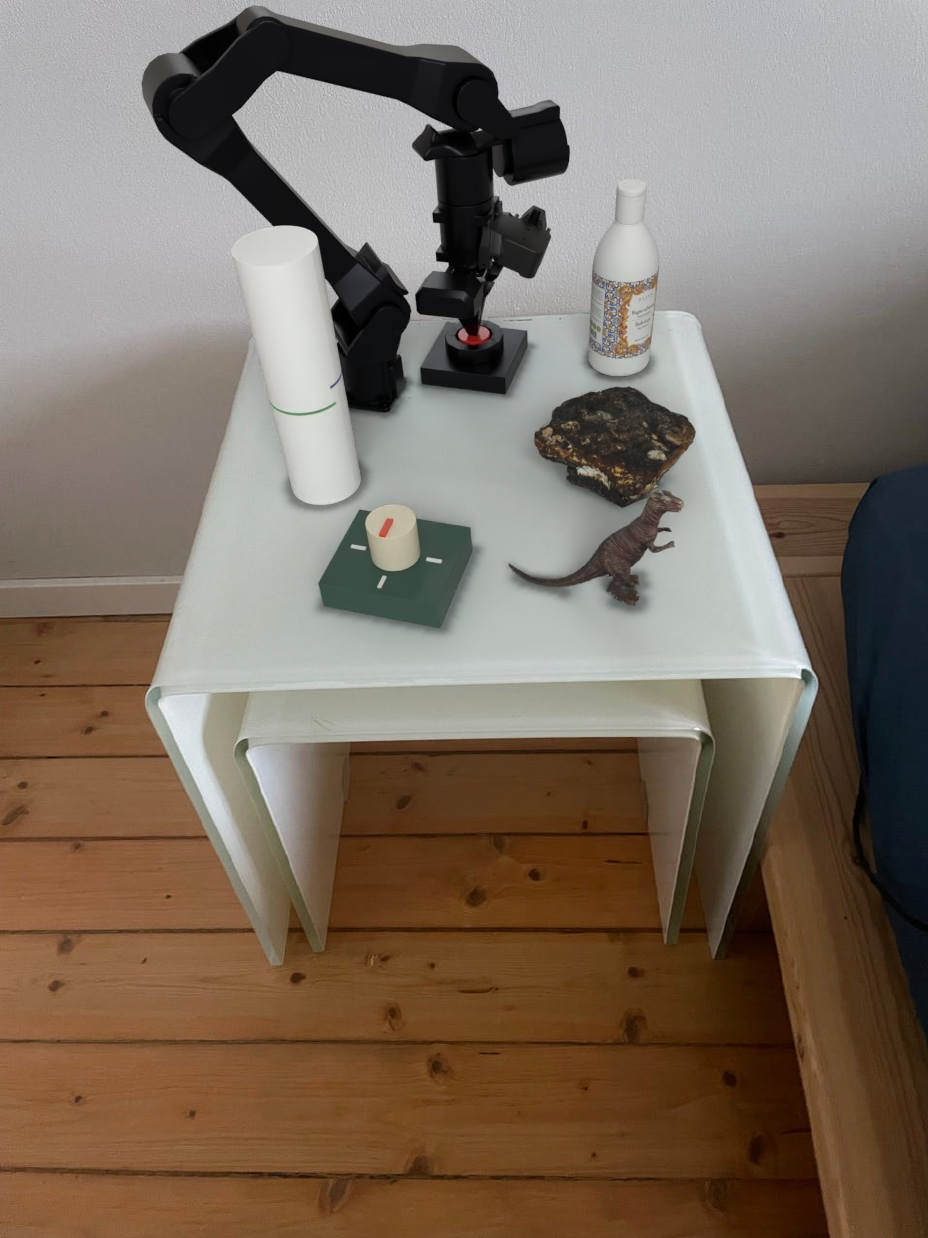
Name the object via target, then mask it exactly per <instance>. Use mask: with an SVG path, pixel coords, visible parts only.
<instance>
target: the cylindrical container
mask: <svg viewBox="0 0 928 1238" xmlns="http://www.w3.org/2000/svg"><path fill="white" fill-rule="evenodd" d="M230 250H231V252H230V253H231V256H232V261H233V264H234V269H235V272H236V276H237V280H238V284H239V289H240V291H241V296H242V299H243V303H244V307H245V312H246V315H247V320H248V323H249V327H250V330H251V335H252V339H253V342H254V347H255V350H256V354H257V358H258V363H259V366H260V369H261V373H262V377H263V382H264V386H265V390H266V393H267V397H268V402H269V405H270V409H271V413H272V417H273V420H274V424H275V428H276V432H277V437H278V440H279V444H280V448H281V452H282V456H283V459H284V463H285V468H286V471H287V475H288V479H289V483H290V486H291V487H290V488H291V490H292V493H293V495H294V496H295V497H296V499H298V500H299V501H301V502H303V503H306V504H308V505H309V504H310V505H313V506H326V505H327V506H328V505H332V504H333V505H334V504H336V503H339V502H342V501H344V500H346V499H348V498H350V497H351V496H352V495H353V494H354V493H356V491H358V488H359V487H360V484H361V482H362V476H361V469H360V464H359V458H358V454H357V453H358V452H357V447H356V442H355V436H354V432H353V426H352V420H351V415H350V408H349V407H348V403H347V398H346V392H345V387H344V381H343V376H342V371H341V365H340V359H339V354H338V348H337V339H336V337H335V332H334V326H333V321H332V315H331V310H330V309H331V305H330V299H329V293H328V288H327V283H326V282H327V281H326V279H325V277H324V271H323V266H322V260H321V255H320V249H319V244H318V239H317V236H316V235H315V234H314V233H313V232H312V231H310V230H308V229H305V228H302V227H298V226H269V227H264V228H260V229H256V230H254V231H251V232H248V233H247V234H245V235H242V236H241V237H240V238H239V239H237V240H236V241H235V242H234V244H233V245H232V246H231V249H230Z"/></svg>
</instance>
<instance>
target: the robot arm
mask: <svg viewBox="0 0 928 1238" xmlns="http://www.w3.org/2000/svg"><path fill="white" fill-rule="evenodd" d="M277 72H279V73H284V74H287V75H292V76H296V77H299V78H300V77H301V78H303V79H309V80H312V81H317V82H321V83H325V84H330V85H334V86H337V87H342V88H346V89H351V90H354V91H358V92H363V93H367V94H372V95H375V96H379V97H384V98H388V99H392V100H396V101H399V102H401V103H403V104H405V105H407V106H409V107H411V108H413V109H414V110H416V111H418V112H420V113H422V114H423V115H425V116H427V117H428V118H430V119H433V120H434V121H437V122H438V123H441V124H443V125H445V126H446V127H449V128H447V129H442V130H437V129H436V128H434V127H433V126H432V124H430V123H427V124H425V125H424V126H425V127H424V129H423V131H422V132H421V133H420V134H419V135H418V136H417V137H416V138H415V139H414V140H413V142H412V143H411V148H412V150H413V151H414V152H415V153H416V154H417V155H418V156H419V157H420V158H421V159H422V160H423V161H424V162H430V161H431V162H432V161H434V172H435V183H436V197H437V205H436V207H435V208H434V209H433V211H432V212H431V215H432V217H431V218H432V223H433V224H438V225H439V234H440V235H439V236H440V245H439V246H438V248H437V249H436V251H435V262H437V263H447V264H448V265H447V267H446V269H445V271H438V270H432V271H431V272H430V273H429V274H428V275H427V276H426V277H425V278H424V279H423V281H422V283H421V285H420V286H419V287H418V289H417V290H416V292H415V294H414V298H415V299H414V300H415V309H416V313H417V314H419V315H420V316H429V317H437V318H438V317H440V318H449V319H457V320H458V321H459V322H460V323H461V324H462V326H463V328H464V329H465V331H466V332H467V334H468V335H471V336H477V334H478V332H479V329H480V324H481V320H483V314H484V309H485V305H486V300H487V297H488V296H489V294H490V293H491V291H492V289H493V287H494V285H495V284H496V280H497V279H498V278H499V277H500V275H501V272H502V271H503V269H504V268H506V269H508V270H510V271H512V272H515V273H517V274H518V275H519V276H520V277H521V278H524V279H527V280H530V279H534V278H535V277H536V275H537V273H538V271H539V268H540V266H541V264H542V262H543V260H544V257H545V254H546V252H547V250H548V247H549V244H550V241H551V239H552V234H551V231H552V229H551V228H550V227H548V222H547V213H546V210H545V209H543V208H541V207H539V206H537V205H535V204H534V205H532V206H530V207H529V208H528V209H527V210H526V211H525V212H524V213H523V214H522V215H520V214H519V213H515V214H514V215H513V214H512V213H511V212H510V211H504V210H503V208H504V207H503V201H502V200H501V199H500V196H499V195H495V187H494V185H495V184H494V174H495V175H496V176H497V177H498V178H503V180H504V181H505V183H506V184H507V185H508V186H510V187H513V186H517V185H522V184H525V183H532V182H534V181H535V182H536V181H540V180H544V179H548V178H552V177H557V176H562V175H565V173H566V172H567V170H568V168H569V164H570V158H571V157H570V156H571V147H570V145H569V144H568V137H567V136H568V135H567V132H566V128H565V126H564V123H563V121H562V119H561V106H560V105H558V104H557V103H556V102H554V101H553V100H552V99H546V100H542V101H538V102H536V103H535V104H532V105H528V106H523V107H518V108H515V109H510V110H509V109H507V108H506V106H505V105H504V104H503V102H502V101H501V100H500V98H499V96H500V95H499V93H500V92H499V91H500V90H499V83H498V81H497V79H496V75H495V73H494V72H493V71H492V69H491V68H489V66H487V65H486V64H485V63H484V62H482V61H481V60H479V59H478V58H477V57H476V56H474V55H473V54H471V53H470V52H468V51H467V50H466V49H465V48H462V47H461V46H458V45H453V44H440V43H438V44H437V43H417V44H411V45H400V44H399V45H397V44H391V43H387V42H383V41H379V40H376V39H372V38H369V37H364V36H362V35H357V34H354V33H350V32H346V31H343V30H338V29H336V28H332V27H328V26H325V25H320V24H317V23H313V22H310V21H306V20H302V19H298V18H295V17H291V16H287V15H283V14H280V13H276V12H274V11H273V10H271V9H269V8H268V7H266V6H262V5H250V6H247V7H246V8H244V9H243V10H242V11H241V12H240V13H239V14H237V15H236V16H234V17H233V18H232V19H231V20H229V21H228V22H227V23H224V24H223V25H221V26H219V27H217V28H215V29H213V30H211V31H209V32H207V33H206V34H203V35H201V36H200V37H198V38H196V39H195V40H193V41H191V42H190V43H189V44H188V45H186V46H185V47H184V48H182V49H181V50H180V51H179V52H166V53H164V54H159V55H157V56H156V57H154V58H153V59H152V60H151V61H149V63H148V64H147V66H146V68H145V69H144V71H143V74H142V79H141V92H142V98H143V100H144V103H145V105H146V108H147V109H148V111H149V113H150V115H151V117H152V119H153V122H154V124H155V126H156V129H157V130H158V131H159V133H160V134H161V136H162V137H163V138H164V140H166V141H167V142H168V143H169V144H170V145H172V146H173V147H175V148H176V149H178V150H179V151H180V152H182V153H183V154H185V155H186V156H187V157H188V158H190V159H191V160H193V161H194V162H195V163H197V164H199V165H200V166H202V167H204V168H205V169H207V170H208V171H211V172H213V173H214V174H216V175H218V176H219V177H222V178H223V179H225V180H226V181H227V182H229V183H230V184H231V185H232V187H234V188H235V190H237V192H239V193H240V195H241V196H242V197H244V199H246V201H247V202H249V204H251V205H252V207H253V208H254V209H255V210H256V211H257V212H259V214H260V215H261V216H262V217H263V218H264V219H265V220H266V221H267V222H268V223H269V224H270V225H271V227H273V226H298V227H302V228H305V229H308V230H310V231H312V232H313V233H314V234H315V235H316V236H317V239H318V244H319V249H320V255H321V260H322V266H323V271H324V277H325V281H326V282H328V284H329V286H330V287H331V288H332V290H333V292H334V293H335V295H336V296H337V299H336V301H335V302H334V303H333V305H332V306H331V307H330V310H331V315H332V321H333V326H334V332H335V337H336V343H337V348H338V354H339V359H340V365H341V371H342V376H343V381H344V387H345V392H346V398H347V403H348V409H350V408H351V409H357V410H363V411H364V410H365V411H373V412H380V413H381V412H382V413H388V412H390V411H391V409H392V407H393V406H394V404H395V402H396V401H397V400H398V398H400V395H401V394H402V392H403V390H404V389H405V387H406V384H407V377H406V376H404V375H405V374H404V366H403V359H402V355H401V354H398V353H399V352H398V351H399V348H400V343H401V339H402V334H403V333H405V331H406V330H407V328H408V326H409V323H410V321H411V314H412V307H411V304H410V303H409V302H408V300H407V298H406V297H405V296H407V295H409V293H410V292H409V290H408V289H407V287H406V286H405V285H404V284H403V282H402V281H401V280H400V278H399V277H398V275H397V274H396V272H394V270H393V269H392V267H391V266H390V264H388V263H386V262H384V261H382V260H381V258H380V257H379V256H378V254H377V253H376V252H375V250H374V249H373V248H372V246H371V245H370V243H369V242H368V241H365V242H364V244H363V245H362V247H361V248H360V249H359V250H356V249H354V248H353V247H351V246H349V245H348V244H346V243H345V242H344V241H343V240H342V239H341V238H340V237H339V235H337V234H336V233H335V231H334V230H333V229H332V228H331V227H330V226H329V224H327V223H326V222H325V221H324V219H322V217H320V215H319V214H318V213H317V212H316V210H314V209H313V208H312V207H311V206H310V204H308V202H307V201H306V200H305V199H304V198H303V196H301V195H300V193H298V192H297V190H296V189H295V188H294V187H293V186H292V185H291V184H290V183H289V181H287V180H286V178H285V177H284V176H283V175H282V174H281V173H280V172H279V171H278V170H277V169H276V168H275V167H274V165H272V163H271V162H270V161H269V160H268V159H267V158H266V157H265V156H264V154H263V153H262V152H261V151H260V150H259V149H258V148H257V147H256V146H255V145H254V144H253V142H251V141H250V140H249V138H248V137H247V136H246V134H245V133H244V131H243V130H242V128H241V127H240V125H239V123H238V121H236V118H235V117H234V116H233V115H235V114H236V113H237V112H238V111H240V110H241V109H242V108H243V107H244V106H245V105H246V103H247V102H248V101H249V100H250V99H251V98H252V96H254V94H255V93H256V92H257V91H258V89H259V88H260V87H261V86H262V85H263V83H264V82H265V81H266V80H267V79H269V78H270V77H271V76H273V75H274V74H275V73H277Z"/></svg>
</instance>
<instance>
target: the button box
mask: <svg viewBox="0 0 928 1238" xmlns="http://www.w3.org/2000/svg"><path fill="white" fill-rule="evenodd" d="M480 326H482V327H485V328H487V329H488V330H489V332H490V340H488V341H486V342H484V343H482V344H476V345H469V344H463V343H461V342H459V341H458V333H459V331H460V330H461V329H463V326H462V324H461V323H460V321H459V322H449V321H446V322H445V323H444V325H443V327H442V329H441V330H440V333H439V334H438V335H437V338H436V339H435V341H434V343H433V344H432V346H431V348H430V350H429V352H428V353H427V354H426V356H425V358H424V360H423V362H422V364H421V365H420V367H419V370H420V371H419V372H420V380H421V381H420V382H421V385H425V386H432V387H433V386H435V387H441V388H450V389H458V390H467V391H474V392H483V393H491V394H498V395H499V394H500V395H507V392H508V390H509V388H510V386H511V384H512V382H513V380H514V378H515V375H516V374H517V371H518V369H519V367H520V364H521V362H522V360H523V357H524V356H525V353H526V351H527V349H528V347H529V346H528V341H529V340H528V339H529V338H528V337H529V336H528V330H527V329H516V328H508V327H501V326H500V325H499V324H496V323H495V322H493V321H490V320H486V319H481V324H480Z"/></svg>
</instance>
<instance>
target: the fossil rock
mask: <svg viewBox="0 0 928 1238" xmlns="http://www.w3.org/2000/svg"><path fill="white" fill-rule="evenodd" d="M696 433H697V431H696V429H695V426H694V425H693V423H692V422H691V421H690V420H689V418H688V416H686V415H684V414H681V413H678V412H675V411H671V410H670V409H668V408H667V407H665V406H663V405H661V404H658V403H656V402H653V401H652V400H650V399H649V398H648V397H647V396H646V395H645V394H644V393H643V392H642V391H640V390H639V389H637V388H635V387H632V386H612V387H609V388H605V389H602V390H601V391H588V392H586V393H583V394H581V395H579V396H575V397H572V398H569V399H567V400H564V401H562V403H561V404H560V405H559V406H556V407H555V408H554V409H553V410H552V412H551V419H550V421H549V423H547V424H546V425H544V426H542V427H539V430H537V431H535V432H534V437H533V442H534V446H535V448H537V450H538V453H539V455H540V456H541V457H542V458H543V459H545V460H547V461H549V462H551V463H556V464H561V465H564V466H565V467H566V466H567V467H566V472H567V475H566V481H567V482H568V483H569V484H572V485H576V486H578V487H581V488H584V489H586V490H588V491H591V492H593V493H594V494H596V495H598V496H600V497H602V498H603V499H605V500H606V501H608V502H609V503H611V504H614V505H616V506H618V507H620V508H621V509H622V508H626V507H628V506H630V505H632V504H635V503H636V502H639V501H642V500H645V499H648V498H649V496H650V495H651V494H652V493H653V492H652V491H654V489H657V488H658V485H659V482H661V480H662V478H663V477H664V475H665V474H666V473H668V472H669V471H670V469H671V468H672V467H673V466H674V465H675V464H676V463H677V462H678V460H679V459H680V458H681V457H682V455H684V453H685V452H686V451H688V449H689V448H690V446H691V445H692V444H693V443H694V440H695V437H696Z"/></svg>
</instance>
